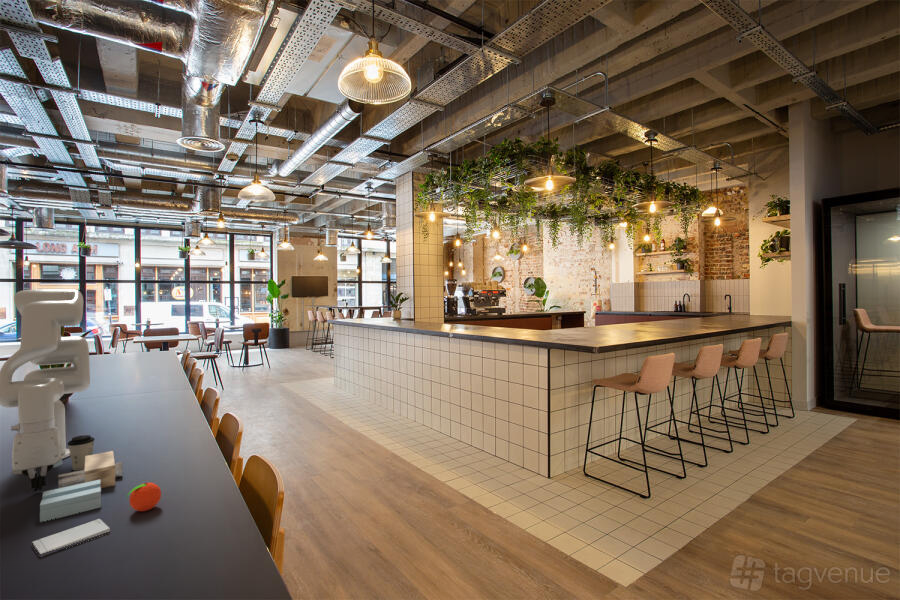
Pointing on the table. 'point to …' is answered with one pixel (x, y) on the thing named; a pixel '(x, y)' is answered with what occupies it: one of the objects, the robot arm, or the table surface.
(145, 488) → the clementine
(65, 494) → the v block
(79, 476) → the axle
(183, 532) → the table surface
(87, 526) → the hard drive
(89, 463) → the beam
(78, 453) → the coffee cup
